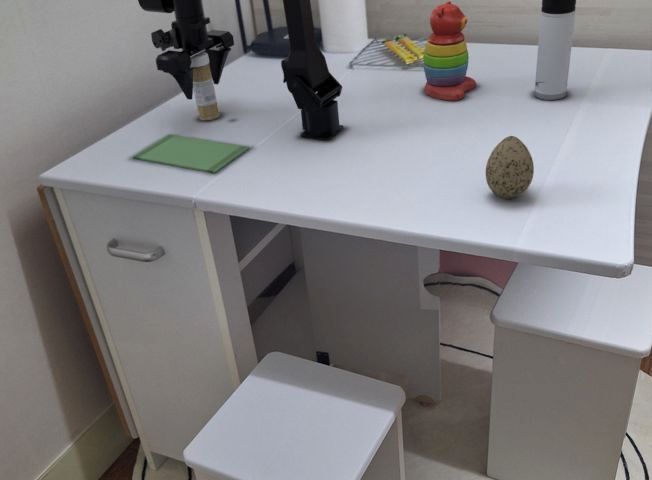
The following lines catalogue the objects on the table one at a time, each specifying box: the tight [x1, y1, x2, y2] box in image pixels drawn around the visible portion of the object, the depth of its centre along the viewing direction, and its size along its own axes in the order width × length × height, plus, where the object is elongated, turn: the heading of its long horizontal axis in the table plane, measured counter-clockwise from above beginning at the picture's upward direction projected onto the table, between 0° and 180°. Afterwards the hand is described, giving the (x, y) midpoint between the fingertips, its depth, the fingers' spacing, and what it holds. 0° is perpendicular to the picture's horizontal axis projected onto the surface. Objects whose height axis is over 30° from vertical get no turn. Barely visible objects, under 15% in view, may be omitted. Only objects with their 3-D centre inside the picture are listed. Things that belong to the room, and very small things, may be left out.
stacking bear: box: [422, 0, 477, 102], centre depth 143 cm, size 11×10×18 cm
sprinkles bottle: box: [190, 52, 221, 121], centre depth 145 cm, size 5×5×13 cm
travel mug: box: [533, 0, 577, 101], centre depth 135 cm, size 6×7×20 cm
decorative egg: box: [485, 135, 535, 200], centre depth 106 cm, size 7×7×10 cm
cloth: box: [132, 134, 250, 174], centre depth 133 cm, size 20×11×1 cm, turn 60°
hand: (203, 91), depth 145 cm, fingers open, 9 cm apart
